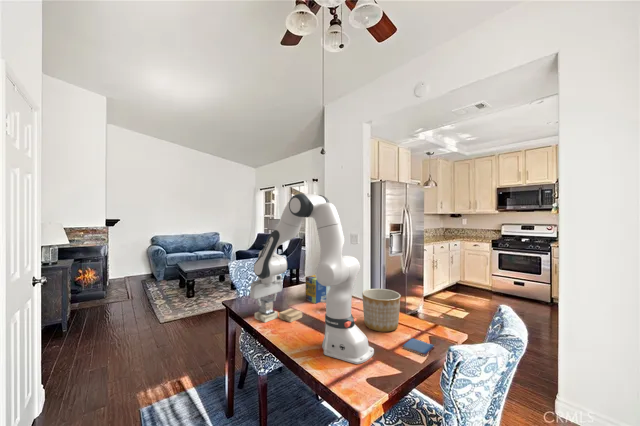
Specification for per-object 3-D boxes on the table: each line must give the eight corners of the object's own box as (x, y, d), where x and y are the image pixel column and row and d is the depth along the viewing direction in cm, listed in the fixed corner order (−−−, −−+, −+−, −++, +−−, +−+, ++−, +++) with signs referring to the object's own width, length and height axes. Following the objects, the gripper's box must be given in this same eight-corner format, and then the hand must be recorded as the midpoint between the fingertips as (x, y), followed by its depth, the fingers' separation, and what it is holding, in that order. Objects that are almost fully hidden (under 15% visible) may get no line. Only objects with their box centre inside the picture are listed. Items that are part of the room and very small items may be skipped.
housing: (274, 313, 150) (274, 298, 150) (267, 315, 146) (267, 300, 146) (265, 309, 155) (265, 295, 155) (258, 312, 151) (258, 297, 151)
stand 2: (302, 317, 152) (302, 311, 152) (290, 322, 145) (290, 316, 145) (290, 313, 158) (290, 308, 158) (279, 318, 151) (279, 312, 151)
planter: (371, 315, 155) (371, 286, 155) (405, 323, 144) (405, 292, 144) (355, 327, 139) (355, 295, 139) (392, 337, 128) (392, 302, 128)
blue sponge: (411, 341, 126) (411, 336, 126) (434, 349, 119) (434, 344, 119) (400, 349, 118) (400, 344, 118) (425, 358, 111) (425, 353, 111)
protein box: (305, 300, 181) (305, 276, 181) (322, 295, 192) (322, 273, 191) (315, 304, 173) (315, 279, 173) (332, 298, 184) (332, 275, 184)
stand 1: (277, 317, 151) (277, 312, 151) (265, 322, 144) (265, 317, 144) (267, 313, 157) (267, 308, 157) (254, 318, 150) (254, 312, 150)
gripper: (254, 282, 140) (254, 309, 140) (284, 275, 156) (284, 299, 156) (247, 280, 144) (247, 307, 144) (276, 274, 160) (276, 297, 160)
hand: (266, 303), depth 150 cm, fingers open, 8 cm apart
